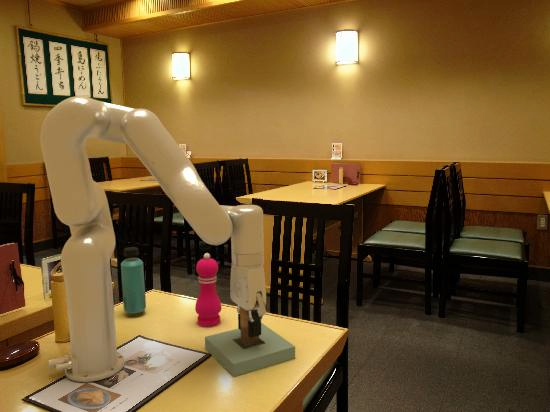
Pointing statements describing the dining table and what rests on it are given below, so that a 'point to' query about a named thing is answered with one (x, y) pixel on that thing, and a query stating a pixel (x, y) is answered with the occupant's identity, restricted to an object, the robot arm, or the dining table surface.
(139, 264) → the beverage bottle
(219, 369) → the dining table surface
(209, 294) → the pepper mill
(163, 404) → the dining table surface
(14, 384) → the dining table surface
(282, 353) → the socket board
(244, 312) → the walnut peg
